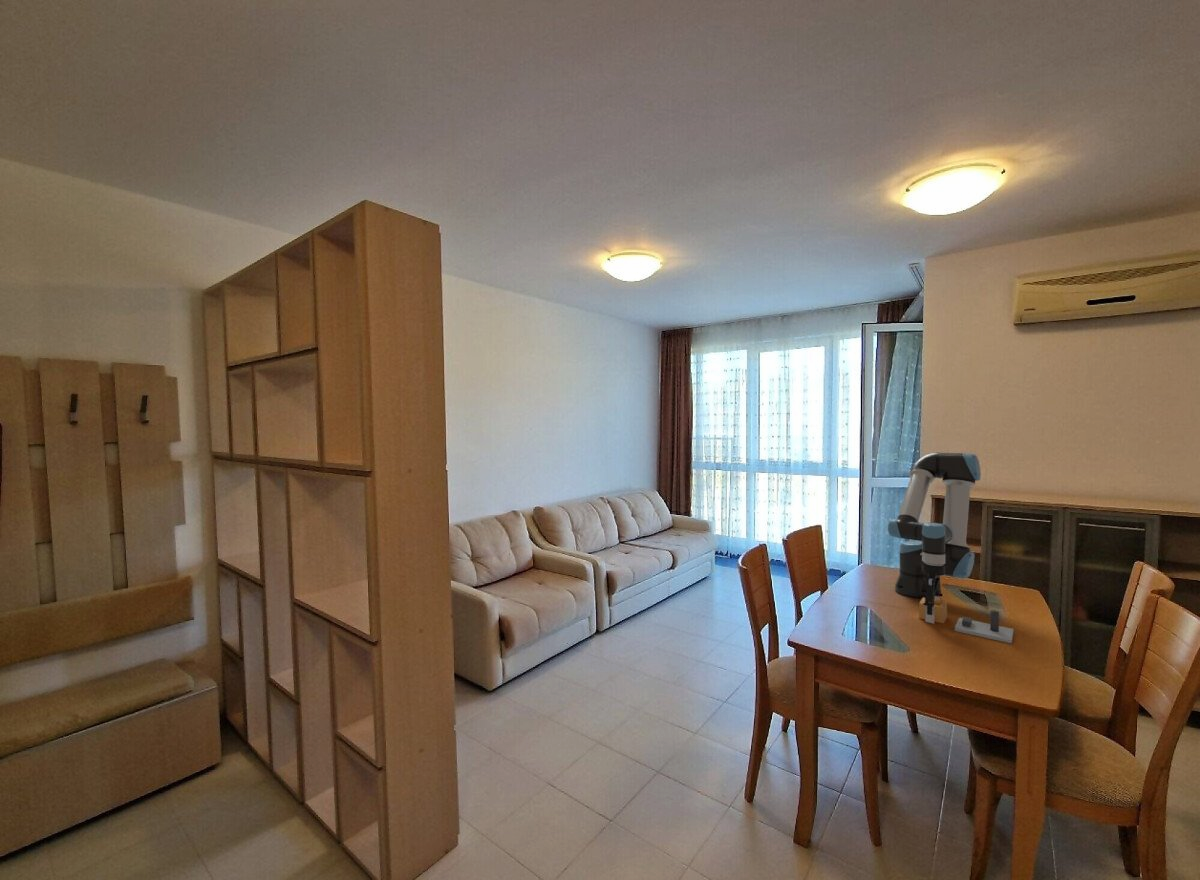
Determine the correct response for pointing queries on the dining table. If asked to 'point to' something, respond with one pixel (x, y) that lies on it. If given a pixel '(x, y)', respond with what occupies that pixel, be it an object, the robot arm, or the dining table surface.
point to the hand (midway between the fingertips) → (932, 617)
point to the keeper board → (985, 628)
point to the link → (939, 610)
